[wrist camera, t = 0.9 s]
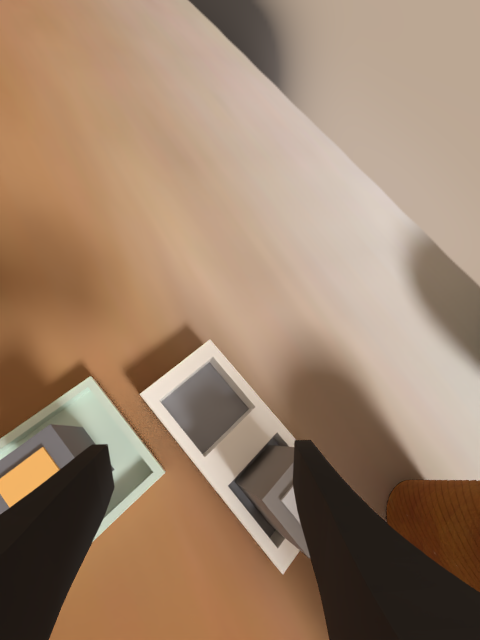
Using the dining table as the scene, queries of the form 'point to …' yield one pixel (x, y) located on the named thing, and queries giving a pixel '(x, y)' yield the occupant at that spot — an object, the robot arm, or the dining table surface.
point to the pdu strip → (222, 434)
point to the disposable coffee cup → (441, 523)
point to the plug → (39, 461)
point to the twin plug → (275, 492)
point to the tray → (97, 442)
